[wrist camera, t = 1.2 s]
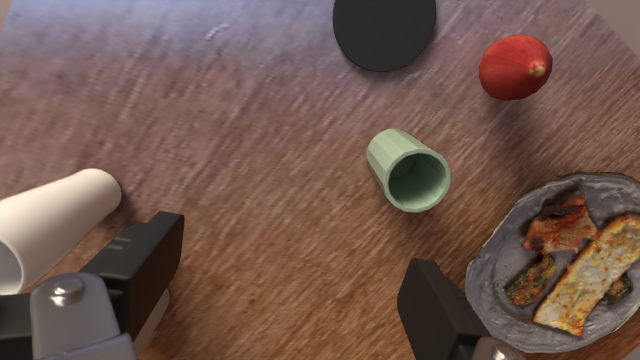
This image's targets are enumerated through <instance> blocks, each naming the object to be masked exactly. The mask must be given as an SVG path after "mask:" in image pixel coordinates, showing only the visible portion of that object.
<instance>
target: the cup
mask: <svg viewBox="0 0 640 360" xmlns="http://www.w3.org/2000/svg"><path fill="white" fill-rule="evenodd" d="M366 159H367V164H368V166H369V169H370V170H371V172H372V174H373V175H374V177H375V179H376V180H377V182H378V184H379V185H380V187H381V189H382V190H383V192H384V194H385V195H386V197H387V198H388V200H389V201H390V202H391V203H392V205H393V206H395V207H397V208H399V209H400V210H402V211H405V212H415V213H416V212H421V211H425V210H429V209H430V208H432V207H433V206H435V205H436V204H438V203H439V202H440V201H441V200H442V199H443V197H444V196H445V195H446V193H447V192H448V189H449V185H450V182H451V174H450V167H449V165H448V164H447V162H446V161H445V159H444V158H443V156H441V155H440V154H438V153H437V152H436V151H434V150H433V149H431V148H430V147H428V146H427V145H425V144H424V143H422V142H421V141H420V140H418V139H417V138H415V137H414V136H412V135H411V134H409V133H407V132H405V131H403V130H400V129H389V130H385V131H383V132H381V133H379V134H378V135H376V136H375V137H374V138H373V139H372V141H371V142H370V144H369V146H368V149H367V153H366Z"/></svg>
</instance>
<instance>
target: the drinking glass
mask: <svg viewBox="0 0 640 360" xmlns="http://www.w3.org/2000/svg"><path fill="white" fill-rule="evenodd" d="M121 197H122V193H121V188H120V186H119V184H118V182H117V181H116V180H115V178H114V177H112V176H111V175H110V174H108V173H107V172H105V171H102V170H98V169H85V170H82V171H79V172H77V173H75V174H73V175H71V176H68V177H65V178H63V179H60V180H57V181H54V182H51V183H48V184H45V185H43V186H40V187H37V188H34V189H31V190H28V191H25V192H22V193H19V194H16V195H13V196H10V197H8V198H5V199H2V200H0V295H12V294H22V293H23V292H24V291H26V290H27V289H28V288H30V287H31V286H32V285H34V284H35V283H36V282H38V281H39V280H40V279H42V278H43V277H44V276H45V275H46V274H48V273H49V272H50V271H51V270H52V269H53V268H55V267H56V266H57V265H58V264H59V263H60V262H61V261H62V260H63V259H64V258H65V257H66V256H67V255H68V254H69V253H70V252H71V251H72V250H73V249H74V248H75V247H76V246H77V245H78V244H79V243H80V242H81V241H82V240H83V239H84V238H85V237H86V236H87V235H88V234H89V233H90V232H91V231H92V230H93V229H94V228H95V227H96V226H97V225H98V224H99V223H100V222H101V221H102V220H103V219H104V218H105V217H106V216H107V215H109V214H110V213H111V212H113V211H114V210H115V209H116V208H117V207H118V205H119V204H120V201H121Z"/></svg>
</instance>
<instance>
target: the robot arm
mask: <svg viewBox="0 0 640 360" xmlns="http://www.w3.org/2000/svg"><path fill="white" fill-rule="evenodd" d="M184 221H185V219H184V215H180V214H175V213H170V212H164V211H159V212H158V213H157V214H156V215H155V216H154V217H153V218H152V219H151V220H150V221H149V222H148V223H147V224H146V223H140V222H139V223H136V224H134V225H132V226H129V227H127V228H125V229H123V230H122V231H121V232H120V233H119V234H118V235H117V236H116V237H115V239H114V240H112V241H111V242H109V243H108V244H107V246H106V247H104V248H103V249H102V250H101V251H100V252H99V253H98V254H97V255H96V256H94V257H93V258H92V259H91V260H90V261H89V262H88V263H87V264H86V265H85V266H84V267H83V268H82V269H81V270H79V271H78V272H72V273H65V274H61V275H57V276H54V277H52V278H49V279H47V280H45V281H43V282H42V283H40V284H39V285H38V286H36V287H35V288H34V290H33V291H32V292H31V293H27V294H12V295H0V360H138V357H137V354H136V351H135V348H134V345H133V342H134V341H135V339H136V337H137V336H138V334H139V332H140V331H141V329H142V328H143V326H144V324H145V323H146V321H147V319H148V318H149V316H150V314H151V313H152V311H153V309H154V308H155V306H156V305H157V303H158V301H159V300H160V298H161V296H162V295H163V293H164V291H165V290H166V288H167V286H168V285H169V283H170V282H171V280H172V278H173V277H174V275H175V273H176V271H177V268H178V265H179V262H180V257H181V249H182V240H183V231H184ZM472 308H473V307H472V306H471V304H470V303H469V301H467V300H466V297H465V296H464V294H463V293H462V291H461V290H460V288H459V287H458V286H457V285H455V284H454V283H453V282H452V281H451V280H450V279H449V278H447V277H445V276H444V274H443V273H442V271H441V269H440V268H439V266H438V265H437V263H436V262H434V261H430V260H424V259H419V258H413V259H412V260H411V261H410V263H409V266H408V268H407V271H406V274H405V277H404V279H403V282H402V285H401V288H400V290H399V293H398V298H397V309H398V312H399V315H400V318H401V321H402V323H403V326H404V329H405V331H406V334H407V337H408V339H409V342H410V345H411V348H412V350H413V353H414V356H415V358H416V360H527V359H526V357H525V356H524V355H523V354H522V353H521V352H520V351H518V350H517V349H516V348H515V347H513V346H512V345H510V344H508V343H507V342H505V341H503V340H500V339H498V338H494V337H492V335H491V334H490V332H489V331H488V330H487V328H486V327H485V325H484V324H483V322H482V321H481V319H480V318H479V316H478V315H477V313H476V312H475V310H473V309H472Z"/></svg>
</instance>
